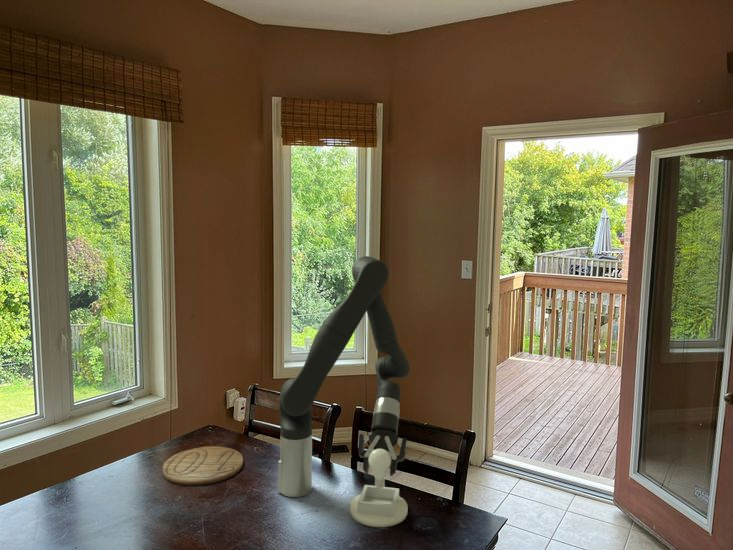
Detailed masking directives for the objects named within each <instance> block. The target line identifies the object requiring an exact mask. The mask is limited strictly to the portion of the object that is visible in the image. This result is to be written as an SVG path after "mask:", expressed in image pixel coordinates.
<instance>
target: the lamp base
mask: <svg viewBox="0 0 733 550" xmlns="http://www.w3.org/2000/svg"><path fill="white" fill-rule="evenodd" d="M408 509H409V508H408V503H407V501H406V500H405V499H404V498H403V497H401V496H400V488H395V487H388V486H384V487H383V488H381V489H379V488H377V487H375V485H371V484H369V485H368V484H364V486H363V488H362V490H361V493H360V494H358V495H356V496H355V497H353V498H352V500H351V501H350V504H349V514H350V517H352V519H353V520H355V521H356V522H358V523H359V524H362V525H364V526H368V527H372V528H373V527H374V528H386V527H392V526H395V525H398V524H400V523H402V522H403V521H404V520H406V518H407V517H408V513H409V512H408ZM406 516H407V517H406Z"/></svg>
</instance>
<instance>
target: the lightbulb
mask: <svg viewBox="0 0 733 550" xmlns="http://www.w3.org/2000/svg"><path fill="white" fill-rule="evenodd" d="M391 460H392V457H391V455H390V452H389V451H388V452H387V451H386V450H384V449H375V450H374V451H372V452H371V454H370V455H369V459H368V462H369V469H371V471H372V472H373V476H374V486H375V487H377V488H379V489H381V488H383V487H386V485H385V484H386V483H385V481H386V480H385V478H386V476H387V472H388V471H389V470H390V467H391Z"/></svg>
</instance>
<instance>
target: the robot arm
mask: <svg viewBox="0 0 733 550" xmlns="http://www.w3.org/2000/svg"><path fill="white" fill-rule="evenodd" d="M351 275H352V278H353V279H354V282H355V283H354V285H353V286H352V288H351V290H350V292H349V293H348V295H347V297H345V299H344V300H343V301H342V302H341V303H340V304H339V305H338V306H337V307H336V308H335V309H333V310H332V311H331V312H330V314H328V316H326V318H325V320H324V321H323V322H322V324H321V326H320V327H319V329H318V331H317V332H316V334H315V336H314V338H313V340H312V343H311V346H310V349H309V351H308V355H307V357H306V360H305V362H304V365H303V366H302V368H301V370H300V371H299V373H298V374H297V376H296V377H292V378H289V379H288V380H286V381H285V382H284V383H283V384H282V386H281V389H280V393H279V426H280V459H278V462H277V493H278V494H282V495H283V496H286V497H289V498H302V497H304V496H307V495H308V494H310V493H311V492H312V489H313V488H312V486H313V485H312V484H313V481H312V480H313V472H312V471H313V421H312V406H313V404H314V402H315V400H316V398H317V396H318V394H319V392H320V390H321V387H322V386H323V383H324V382H325V379H326V378H327V376H328V374H329V373H330V372H331V370H332V369H333V367H334V365H335V364H336V363H337V361H338V359H339V358H340V356H341V354H342V353H343V351H344V350H345V349H346V347H347V346H348V344H349V341H350V340H351V339H352V336H353V335H354V333H355V332H356V329H357V328H358V326H359V324H360V323H361V321H362V320H363V318H364V316H365V314H367V317H368V321H369V324H370V330H371V334H372V337H373V338H372V339H373V343H374V345H375V348H376V350H377V352H379V353H381V354H386V355H388V356H381V357H379V358H378V359H377V360H376V362H375V367H374V368H375V374H376V379H377V382H376V383H377V391H376V392H377V393H376V399H375V400H376V401H375V404H374V409H373V415H372V423H371V429H370V430H371V431H370V432H369V434H368V435H367V434H365V435H364V434H362V433H359V435H358V452H357V453H358V455H359V458H363V464H362V470H363V472H364V474H367V475H368V474H369V471H370V466H369V462H368V459H369V455H370V454H371V452H372V451H374V450H375V449H384V450H386V451H387V452H388V453H389V454H390V456H391V466H390V468H389V476H390V477H394V475H396V473H397V467H398V466H397V464H398V463H399V462H404V461H405V456H406V452H407V447H408V439H407V438H406V437H403V438H401V437H398V432H399V430H398V428H399V422H400V421H399V420H400V409H401V408H400V407H401V406H400V404H401V403H400V402H401V395H402V387H401V386H400V385H399V384H398V383H397V382H395V381H391V380H394V379H395V380H397V379H405V378H407V377H408V375H409V373H410V363H409V360H408V358H407V356H406V354H405V353H404V351H403V349H402V346H401V345H400V344H399V341H398V336H397V332H396V327H395V324H394V321H393V319H392V317H391V315H390V312H389V310H388V308H387V305H386V303H385V300H384V297H383V294H382V290H383V288H384V287H385V286H386V284H387V283H388V280H389V277H390V272H389V268H388V265H387V263H385V262H384V261H382V260H380V259H377V258H375V257H372V256H367V255H366V256H365V255H364V256H361V257H359V258H357V259H356V260H355V261H354V263H353V265H352V268H351ZM368 441H369V443H370V444H369V446H368V448H367V450H366V451H365V444H367V442H368ZM397 444H398V445H399V447H400V450H399V454H398V455H397V454H396V452H395V450H394V447H395V446H396V445H397Z"/></svg>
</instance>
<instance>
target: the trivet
mask: <svg viewBox="0 0 733 550" xmlns="http://www.w3.org/2000/svg"><path fill="white" fill-rule="evenodd" d="M243 466H244V457H243V455H242V454H241V453H240V452H239V450H236V449H233V448H229V447H225V446H216V445H215V446H202V447H195V448H194V447H193V448H190V449H186V450H183V451H181V452H178V453H176V454H174V455H172V456H171V457H169V458H168V459H167V460H166V461H164V463H163V465H162V476H163V477H164V479H165V480H166V481H168V482H171V483H173V484H175V485H176V484H177V485H180V486H205V485H209V484H215V483H218V482H222V481H225V480H227V479H230V478H232V477H233V476H235V475H236V474H238V473H239V472H240V471H241V470H242V468H243ZM240 469H241V470H240ZM229 477H230V478H229Z"/></svg>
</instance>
